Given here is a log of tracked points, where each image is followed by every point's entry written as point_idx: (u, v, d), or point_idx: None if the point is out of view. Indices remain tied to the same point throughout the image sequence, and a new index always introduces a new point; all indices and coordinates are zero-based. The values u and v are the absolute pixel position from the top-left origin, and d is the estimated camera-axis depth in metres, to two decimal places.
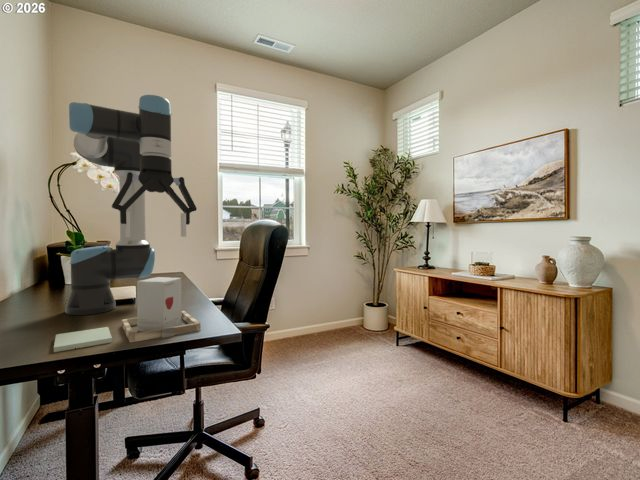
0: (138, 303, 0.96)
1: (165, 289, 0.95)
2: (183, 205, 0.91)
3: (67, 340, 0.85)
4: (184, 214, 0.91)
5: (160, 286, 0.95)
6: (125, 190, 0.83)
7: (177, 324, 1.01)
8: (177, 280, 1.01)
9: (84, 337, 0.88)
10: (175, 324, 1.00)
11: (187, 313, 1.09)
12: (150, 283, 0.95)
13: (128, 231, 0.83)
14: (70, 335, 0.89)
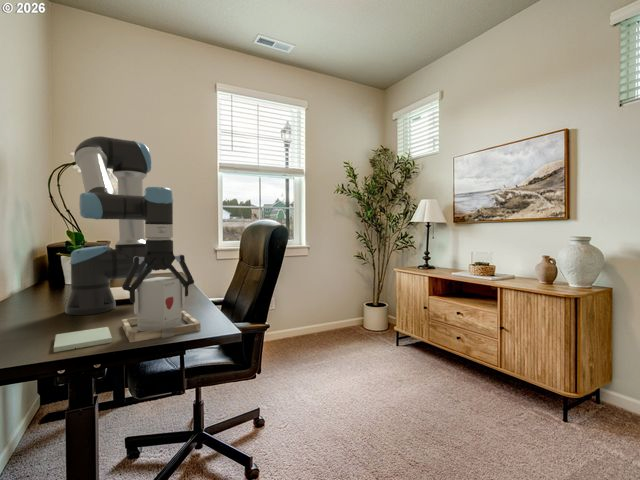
0: (138, 303, 0.96)
1: (165, 289, 0.95)
2: (182, 280, 1.02)
3: (67, 340, 0.85)
4: (183, 288, 1.02)
5: (160, 285, 0.95)
6: (133, 273, 0.94)
7: (177, 324, 1.01)
8: (177, 280, 1.01)
9: (84, 337, 0.88)
10: (175, 324, 1.00)
11: (187, 313, 1.09)
12: (150, 283, 0.95)
13: (136, 309, 0.95)
14: (70, 335, 0.89)
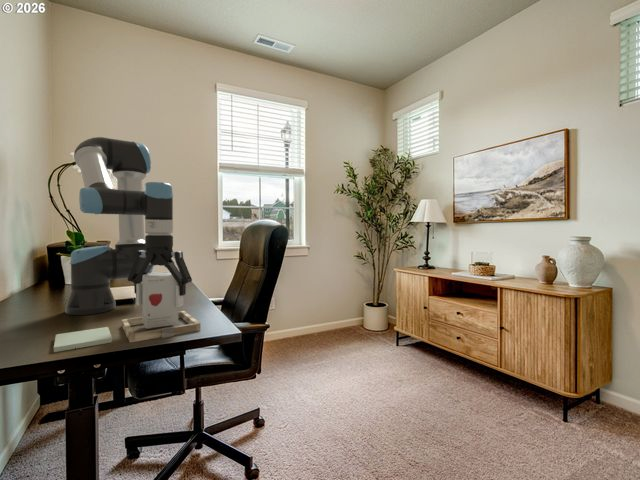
0: (142, 295, 1.00)
1: (149, 284, 0.94)
2: (176, 278, 0.97)
3: (67, 340, 0.85)
4: (176, 286, 0.97)
5: (145, 281, 0.94)
6: (135, 266, 0.99)
7: (170, 323, 0.98)
8: (170, 277, 0.97)
9: (84, 337, 0.88)
10: (166, 322, 0.97)
11: (187, 313, 1.09)
12: (143, 277, 0.97)
13: (137, 300, 0.99)
14: (70, 335, 0.89)
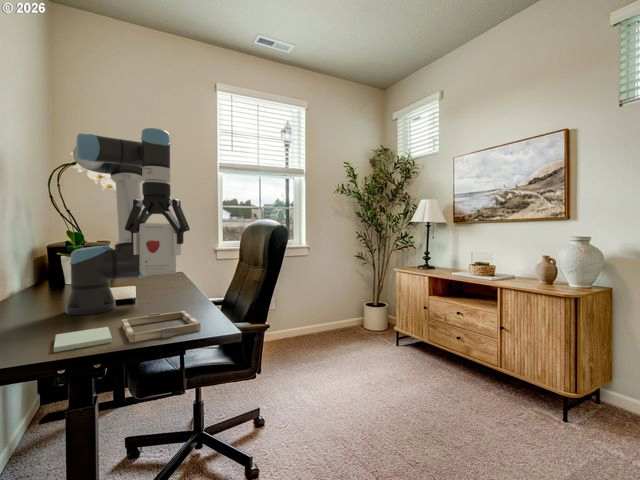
0: None
1: (146, 231, 0.93)
2: (174, 226, 0.96)
3: (67, 340, 0.85)
4: (174, 234, 0.96)
5: (142, 227, 0.93)
6: (132, 215, 0.98)
7: (167, 271, 0.97)
8: (168, 225, 0.96)
9: (84, 337, 0.88)
10: (164, 270, 0.96)
11: (187, 313, 1.09)
12: (140, 225, 0.96)
13: (134, 249, 0.98)
14: (70, 335, 0.89)
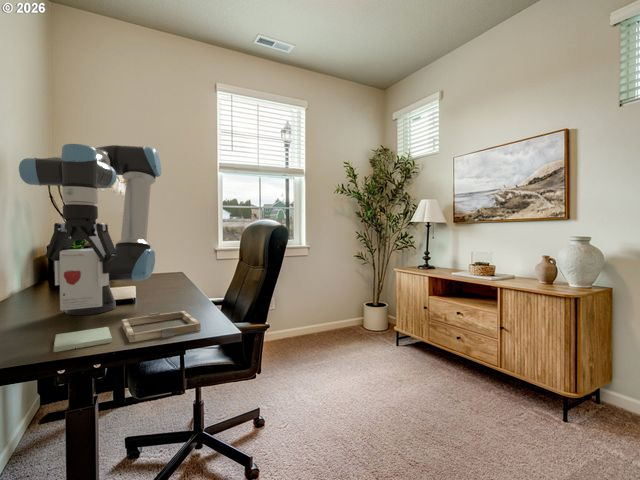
0: None
1: (63, 260, 0.82)
2: (98, 253, 0.86)
3: (67, 340, 0.85)
4: (99, 263, 0.85)
5: None
6: (53, 240, 0.87)
7: (91, 304, 0.86)
8: (91, 252, 0.85)
9: (84, 337, 0.88)
10: (86, 304, 0.85)
11: (187, 313, 1.09)
12: None
13: (56, 279, 0.87)
14: (70, 335, 0.89)
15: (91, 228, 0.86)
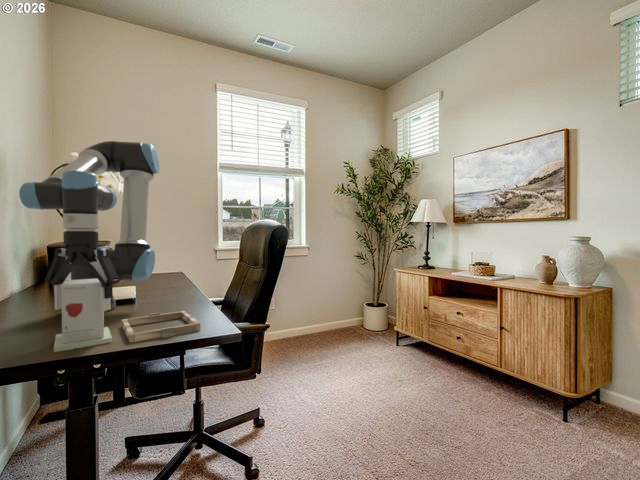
0: None
1: (65, 293, 0.83)
2: (100, 278, 0.86)
3: None
4: (100, 288, 0.86)
5: None
6: (53, 265, 0.88)
7: (93, 336, 0.86)
8: (93, 284, 0.86)
9: None
10: (88, 335, 0.85)
11: (187, 313, 1.09)
12: None
13: (55, 304, 0.88)
14: None
15: (92, 254, 0.86)
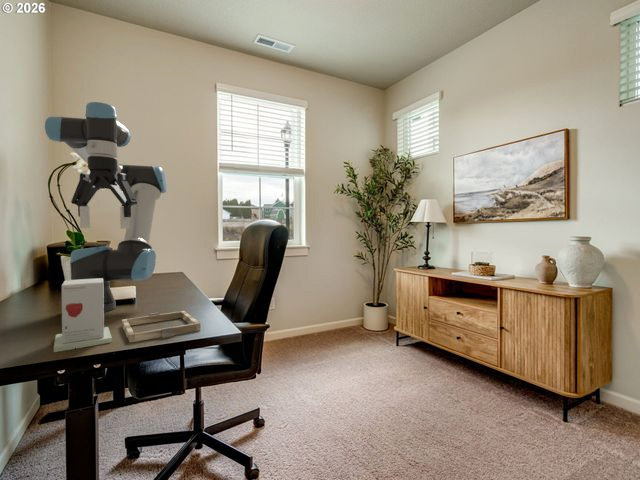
0: None
1: (65, 293, 0.83)
2: (120, 199, 0.97)
3: None
4: (121, 207, 0.97)
5: None
6: (78, 188, 0.99)
7: (93, 336, 0.86)
8: (93, 284, 0.86)
9: None
10: (88, 335, 0.85)
11: (187, 313, 1.09)
12: None
13: (81, 222, 1.00)
14: None
15: (112, 178, 0.98)
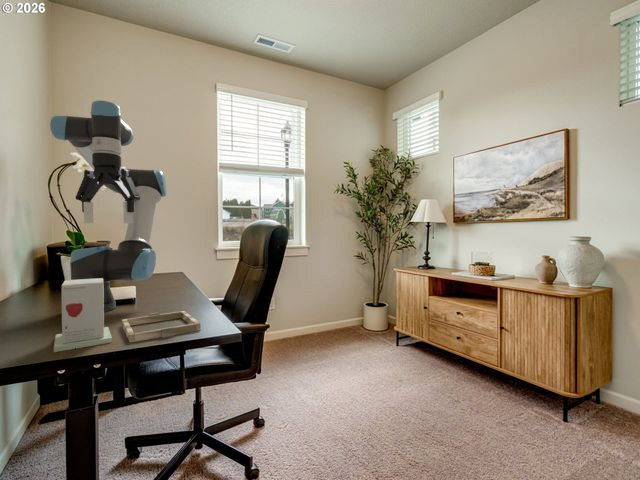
0: None
1: (65, 293, 0.83)
2: (123, 194, 1.00)
3: None
4: (124, 203, 0.99)
5: None
6: (83, 185, 1.01)
7: (93, 336, 0.86)
8: (93, 284, 0.86)
9: None
10: (88, 335, 0.85)
11: (187, 313, 1.09)
12: None
13: (85, 218, 1.02)
14: None
15: (116, 174, 1.00)
